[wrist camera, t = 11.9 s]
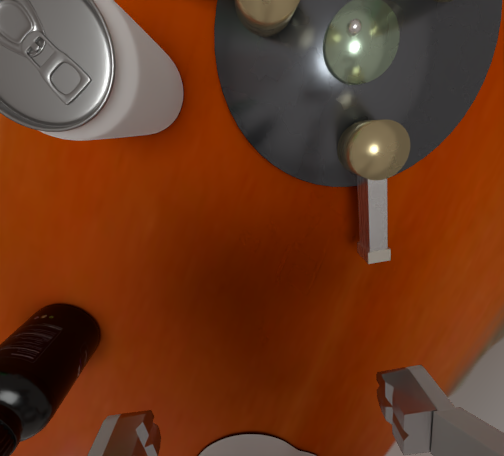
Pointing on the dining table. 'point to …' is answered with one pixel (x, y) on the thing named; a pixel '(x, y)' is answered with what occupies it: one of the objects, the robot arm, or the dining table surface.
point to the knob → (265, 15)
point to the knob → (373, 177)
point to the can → (84, 71)
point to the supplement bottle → (41, 369)
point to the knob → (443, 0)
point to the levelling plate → (353, 76)
